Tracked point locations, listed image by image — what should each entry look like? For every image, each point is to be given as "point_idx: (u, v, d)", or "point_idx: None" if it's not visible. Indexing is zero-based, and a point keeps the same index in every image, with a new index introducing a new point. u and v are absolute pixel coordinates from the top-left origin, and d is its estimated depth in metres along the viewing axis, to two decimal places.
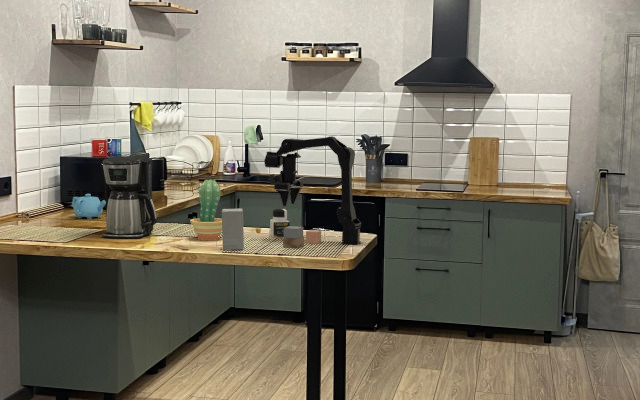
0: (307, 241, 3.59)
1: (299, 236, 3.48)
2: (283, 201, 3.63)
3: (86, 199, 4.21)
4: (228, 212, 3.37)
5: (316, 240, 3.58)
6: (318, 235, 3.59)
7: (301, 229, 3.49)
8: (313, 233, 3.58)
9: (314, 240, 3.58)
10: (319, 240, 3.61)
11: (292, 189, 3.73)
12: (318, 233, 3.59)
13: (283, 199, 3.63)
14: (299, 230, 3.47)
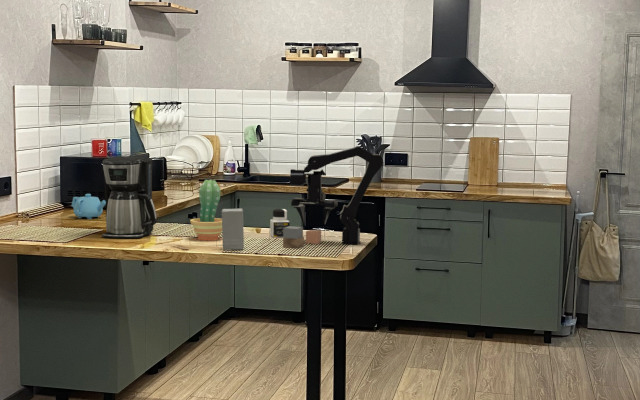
0: (307, 241, 3.59)
1: (299, 236, 3.47)
2: None
3: (86, 199, 4.21)
4: (228, 212, 3.37)
5: (316, 240, 3.58)
6: (318, 235, 3.59)
7: (301, 229, 3.49)
8: (313, 233, 3.58)
9: (314, 240, 3.58)
10: (319, 240, 3.61)
11: None
12: (318, 233, 3.59)
13: None
14: (299, 230, 3.47)
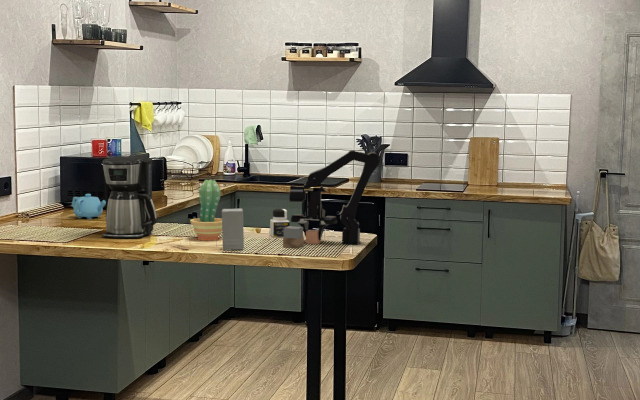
0: (307, 241, 3.59)
1: (299, 236, 3.47)
2: None
3: (86, 199, 4.21)
4: (228, 212, 3.37)
5: (316, 240, 3.58)
6: (318, 235, 3.59)
7: (301, 229, 3.49)
8: (313, 233, 3.58)
9: (314, 240, 3.58)
10: (319, 240, 3.61)
11: None
12: (318, 233, 3.59)
13: None
14: (299, 230, 3.47)
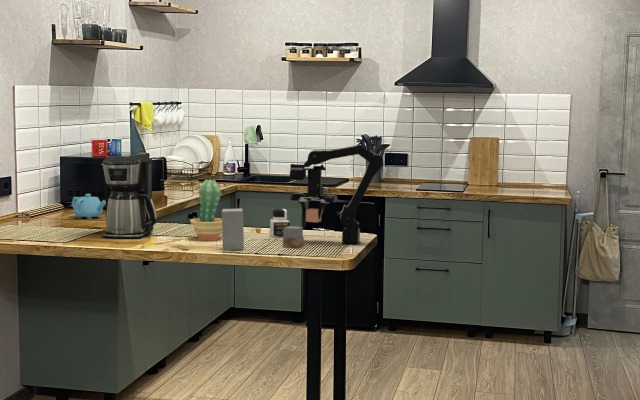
0: (307, 219, 3.58)
1: (299, 236, 3.48)
2: None
3: (86, 199, 4.21)
4: (228, 212, 3.37)
5: (316, 218, 3.57)
6: (318, 213, 3.58)
7: (301, 229, 3.49)
8: (313, 211, 3.57)
9: (314, 218, 3.57)
10: None
11: None
12: (318, 211, 3.58)
13: None
14: (299, 230, 3.47)
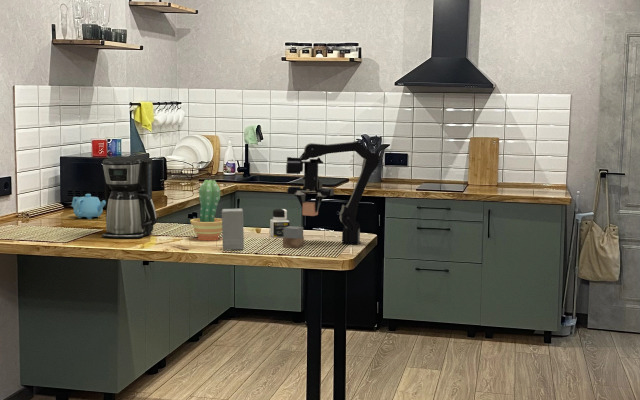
0: (304, 213, 3.56)
1: (299, 236, 3.47)
2: None
3: (86, 199, 4.21)
4: (228, 212, 3.37)
5: (313, 212, 3.55)
6: None
7: (301, 229, 3.49)
8: (310, 205, 3.55)
9: (311, 212, 3.55)
10: (316, 212, 3.57)
11: None
12: None
13: None
14: (299, 230, 3.47)
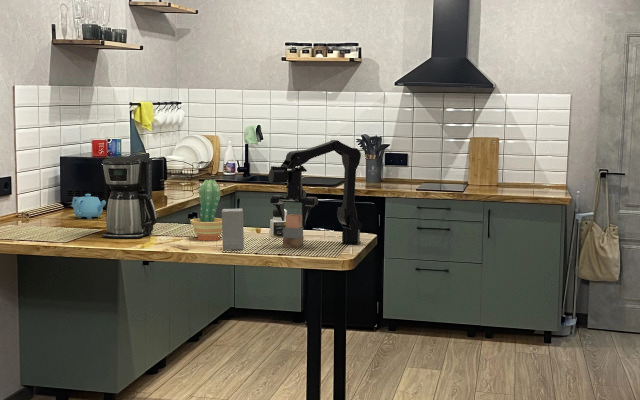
0: (287, 225, 3.48)
1: (299, 236, 3.48)
2: None
3: (86, 199, 4.21)
4: (228, 212, 3.37)
5: (296, 224, 3.46)
6: (299, 219, 3.47)
7: (301, 229, 3.49)
8: (293, 217, 3.46)
9: (294, 224, 3.46)
10: (300, 224, 3.49)
11: None
12: (298, 217, 3.47)
13: None
14: (299, 230, 3.47)
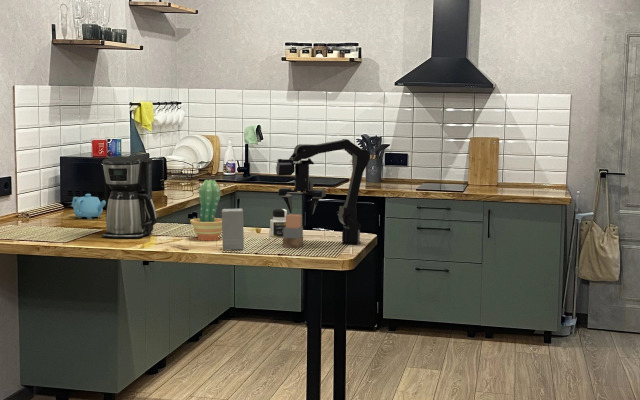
0: (287, 225, 3.47)
1: (299, 236, 3.48)
2: None
3: (86, 199, 4.21)
4: (228, 212, 3.37)
5: (296, 224, 3.46)
6: (299, 219, 3.47)
7: (301, 229, 3.49)
8: (293, 217, 3.46)
9: (294, 224, 3.46)
10: (299, 224, 3.49)
11: None
12: (298, 217, 3.47)
13: None
14: (299, 230, 3.47)
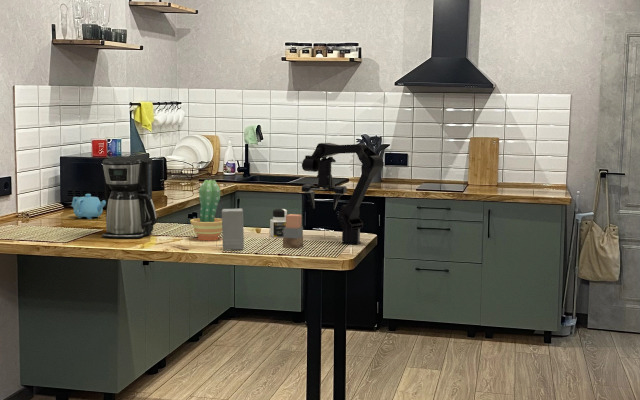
0: (287, 225, 3.47)
1: (299, 236, 3.48)
2: None
3: (86, 199, 4.21)
4: (228, 212, 3.37)
5: (296, 224, 3.46)
6: (298, 219, 3.47)
7: (301, 229, 3.49)
8: (293, 217, 3.46)
9: (294, 224, 3.46)
10: (299, 224, 3.49)
11: None
12: (298, 217, 3.47)
13: None
14: (299, 230, 3.47)
